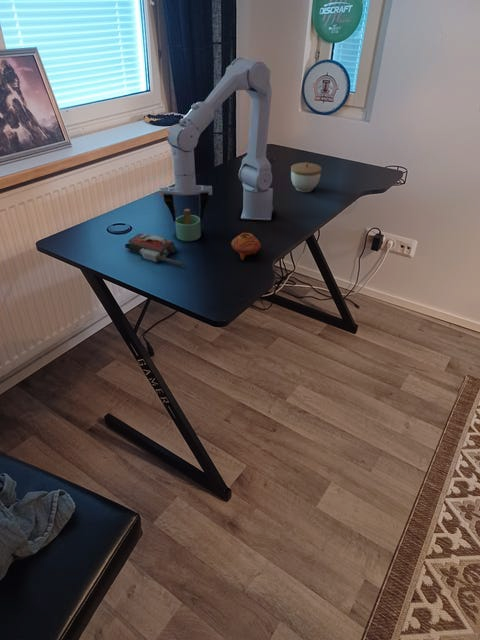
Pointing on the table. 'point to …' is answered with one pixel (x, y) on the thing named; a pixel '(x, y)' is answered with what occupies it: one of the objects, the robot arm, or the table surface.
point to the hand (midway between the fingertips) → (187, 219)
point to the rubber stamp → (187, 217)
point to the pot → (245, 244)
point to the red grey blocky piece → (152, 248)
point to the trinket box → (305, 176)
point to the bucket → (188, 228)
